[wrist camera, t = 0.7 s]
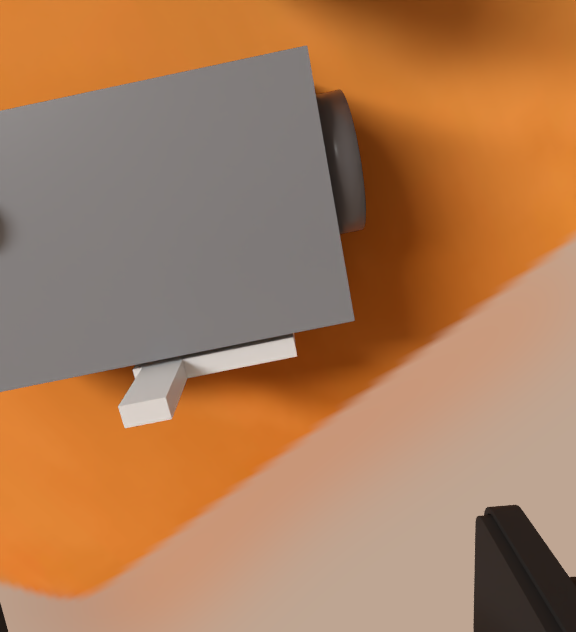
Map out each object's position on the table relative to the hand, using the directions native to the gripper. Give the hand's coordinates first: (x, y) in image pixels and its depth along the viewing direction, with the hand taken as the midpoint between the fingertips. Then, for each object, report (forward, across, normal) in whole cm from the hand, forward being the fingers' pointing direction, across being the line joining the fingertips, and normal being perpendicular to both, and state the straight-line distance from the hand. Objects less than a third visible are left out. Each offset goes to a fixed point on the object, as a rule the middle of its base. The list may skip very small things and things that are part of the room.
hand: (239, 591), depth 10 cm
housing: (+25, +6, -5) cm, 26 cm away
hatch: (+24, +2, +2) cm, 24 cm away
